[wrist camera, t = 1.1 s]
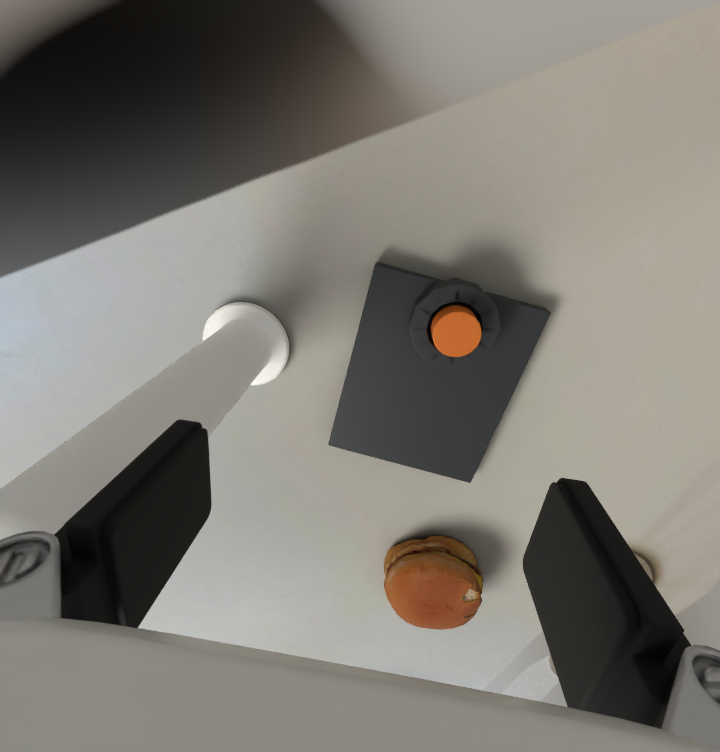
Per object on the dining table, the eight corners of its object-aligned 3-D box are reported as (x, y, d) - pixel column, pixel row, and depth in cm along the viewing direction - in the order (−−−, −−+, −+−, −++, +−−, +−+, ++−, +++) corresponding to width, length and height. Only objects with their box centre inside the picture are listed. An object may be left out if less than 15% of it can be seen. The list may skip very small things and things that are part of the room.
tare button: (439, 299, 27) (441, 305, 26) (484, 311, 27) (489, 318, 26) (424, 341, 29) (426, 350, 27) (467, 353, 29) (471, 362, 27)
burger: (366, 559, 42) (362, 600, 38) (435, 515, 38) (440, 555, 34) (428, 609, 44) (431, 653, 40) (498, 572, 41) (509, 616, 37)
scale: (378, 254, 29) (375, 260, 26) (549, 301, 29) (564, 312, 26) (330, 437, 36) (324, 457, 33) (468, 474, 36) (473, 497, 33)
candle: (287, 388, 34) (62, 765, 12) (207, 375, 34) (-167, 720, 12) (292, 308, 31) (3, 607, 9) (204, 295, 31) (-303, 550, 9)
